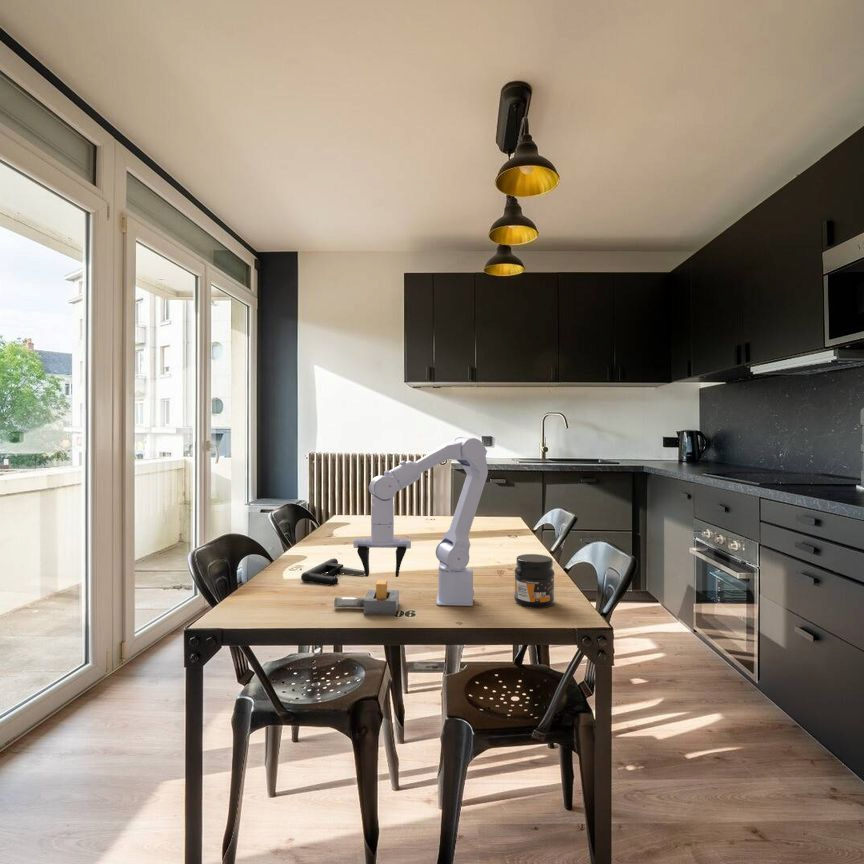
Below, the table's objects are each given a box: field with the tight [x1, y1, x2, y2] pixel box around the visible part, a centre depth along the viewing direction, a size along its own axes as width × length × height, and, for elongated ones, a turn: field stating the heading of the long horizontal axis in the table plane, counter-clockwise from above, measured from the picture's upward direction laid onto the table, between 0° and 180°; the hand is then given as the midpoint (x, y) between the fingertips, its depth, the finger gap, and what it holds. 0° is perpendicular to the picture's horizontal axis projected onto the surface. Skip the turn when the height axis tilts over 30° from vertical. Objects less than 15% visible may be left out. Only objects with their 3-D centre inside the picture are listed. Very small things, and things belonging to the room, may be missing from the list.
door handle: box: [300, 558, 365, 586], centre depth 172 cm, size 3×20×16 cm
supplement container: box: [513, 553, 556, 609], centre depth 148 cm, size 10×10×12 cm
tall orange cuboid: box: [375, 579, 388, 599], centre depth 142 cm, size 2×4×7 cm, turn 179°
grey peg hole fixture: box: [333, 589, 400, 616], centre depth 142 cm, size 16×9×4 cm, turn 89°
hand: (382, 575), depth 142 cm, fingers open, 7 cm apart
